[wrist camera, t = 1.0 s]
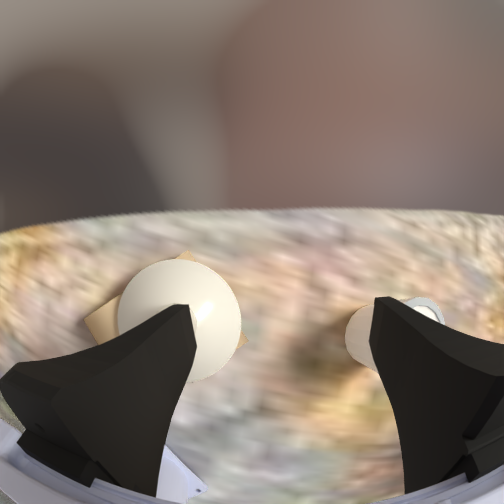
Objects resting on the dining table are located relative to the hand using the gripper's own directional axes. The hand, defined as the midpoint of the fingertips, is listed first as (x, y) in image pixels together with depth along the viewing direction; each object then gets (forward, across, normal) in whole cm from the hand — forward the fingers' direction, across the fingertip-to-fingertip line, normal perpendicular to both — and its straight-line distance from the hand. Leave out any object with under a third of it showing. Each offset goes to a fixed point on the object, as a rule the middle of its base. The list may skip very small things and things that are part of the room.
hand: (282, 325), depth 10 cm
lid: (+7, +8, +4) cm, 11 cm away
